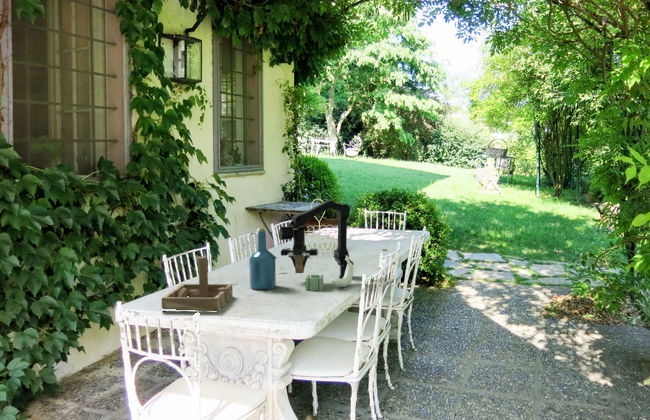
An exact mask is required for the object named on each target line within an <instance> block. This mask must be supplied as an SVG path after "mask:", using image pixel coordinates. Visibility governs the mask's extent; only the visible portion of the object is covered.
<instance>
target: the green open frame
mask: <svg viewBox="0 0 650 420" xmlns="http://www.w3.org/2000/svg"><path fill="white" fill-rule="evenodd" d="M323 289H324V274H307V275H306V277H305V291H320V292H321V291H323Z"/></svg>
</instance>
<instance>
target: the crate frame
mask: <svg viewBox="0 0 650 420" xmlns="http://www.w3.org/2000/svg"><path fill="white" fill-rule="evenodd" d="M222 287H224V288H227V289H228V300H229V301H231V299H232V298H233V293H234V292H233V284H232V283H208V294H209V298H190V297H187V298H184V297H176V296H177V294H178V293H179V292H180V290H181V289H182V288H185V289H187V296H190V290H195V289H197V290H199V283H181V284H180V285H179V286H177V287H176V288H174V289H173V290H171V291H170V292H168V293H167V294H165V295H164V296H162V297H161V309H162V308H163V309H176V310H196V311H197V310H198V311H218V310H219V309H220V308H221V307H222V306H223V305H224V304H225V303H226V291H221V292H220V293H219V294H218V295H217V289H218V288H222ZM199 292H200V290H199ZM225 305H226V304H225ZM225 305H224V306H225ZM224 306H223V307H224ZM223 307H222V308H223ZM222 308H221V309H222ZM221 309H220V310H221ZM220 310H219V311H220ZM219 311H218V312H219Z"/></svg>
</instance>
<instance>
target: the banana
mask: <svg viewBox="0 0 650 420" xmlns="http://www.w3.org/2000/svg"><path fill="white" fill-rule="evenodd" d="M349 259H350V256H349V257H348V256H347V255H346V258H345V260H346V261H347V267H346V271H345V274H344V277H343V278H339V277H337V278H332V279H331V280H330V281H331V283H332V284H333V285H335V286H336V287H339V288H344V287H348V286H349V285H350V284H351V282H352V279H353V276H354V272H355V271H354V264H353V265H352V263H351V262H350V261H349Z"/></svg>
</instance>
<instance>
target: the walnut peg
mask: <svg viewBox="0 0 650 420" xmlns="http://www.w3.org/2000/svg"><path fill="white" fill-rule="evenodd" d="M304 256H305V254H302V255H295V267H294V269H295V270H294V271H295V273H294V274H304V272H305V268H304V269H303V264H304Z"/></svg>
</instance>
